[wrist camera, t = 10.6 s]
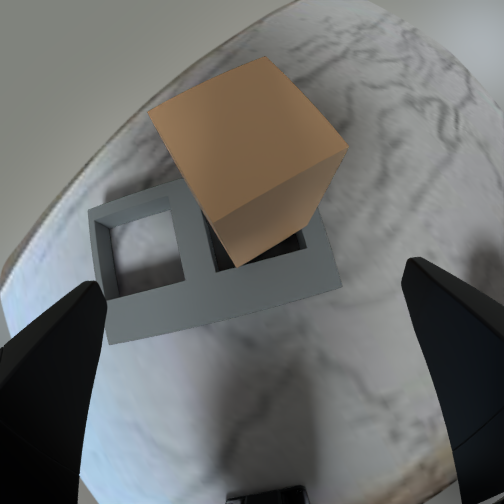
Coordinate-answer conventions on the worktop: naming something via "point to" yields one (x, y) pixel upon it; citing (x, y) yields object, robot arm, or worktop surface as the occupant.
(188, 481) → the worktop surface
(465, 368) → the robot arm
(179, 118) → the plug
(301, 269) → the socket block
